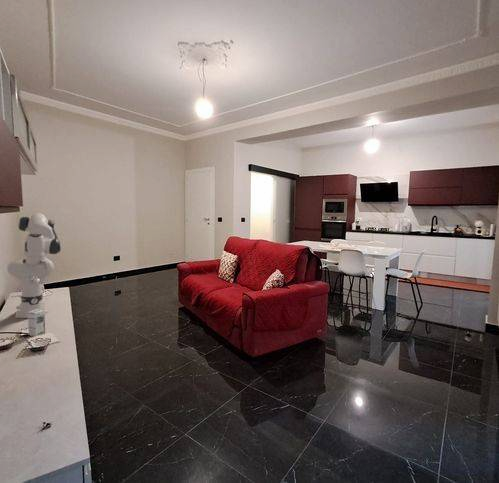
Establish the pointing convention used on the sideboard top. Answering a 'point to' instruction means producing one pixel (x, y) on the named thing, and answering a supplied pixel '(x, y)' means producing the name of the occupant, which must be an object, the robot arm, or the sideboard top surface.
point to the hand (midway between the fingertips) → (36, 283)
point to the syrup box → (36, 322)
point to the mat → (48, 335)
